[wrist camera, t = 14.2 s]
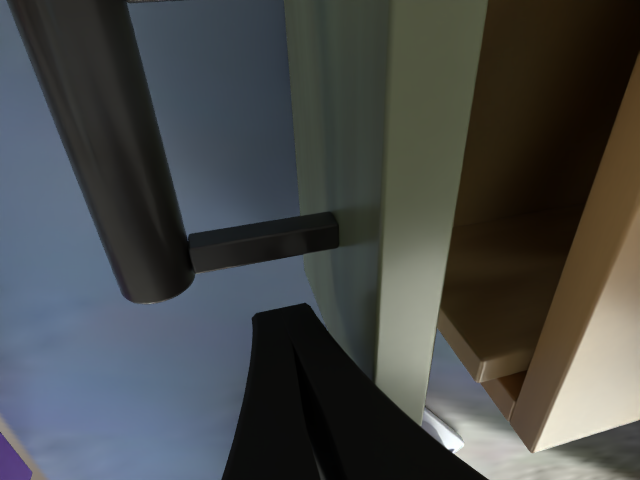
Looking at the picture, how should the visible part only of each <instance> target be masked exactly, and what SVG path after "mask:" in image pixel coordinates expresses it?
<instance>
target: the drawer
mask: <svg viewBox="0 0 640 480" xmlns="http://www.w3.org/2000/svg"><path fill="white" fill-rule="evenodd" d="M6 1H7V3H8V6H9V8H10V11H11V13H12V16H13V18H14V21H15V24H16V26H17V29H18V31H19V34H20V36H21V39H22V41H23V44H24V46H25V49H26V52H27V54H28V57H29V59H30V62H31V64H32V67H33V69H34V72H35V74H36V77H37V80H38V82H39V85H40V87H41V90H42V92H43V95H44V97H45V100H46V102H47V105H48V108H49V110H50V113H51V115H52V118H53V120H54V123H55V125H56V128H57V130H58V133H59V135H60V138H61V141H62V143H63V146H64V148H65V151H66V153H67V156H68V158H69V161H70V163H71V166H72V169H73V171H74V174H75V176H76V179H77V181H78V184H79V186H80V189H81V191H82V194H83V197H84V199H85V202H86V204H87V207H88V209H89V212H90V214H91V217H92V219H93V222H94V225H95V227H96V230H97V232H98V235H99V237H100V240H101V242H102V245H103V247H104V250H105V253H106V255H107V258H108V260H109V263H110V265H111V268H112V270H113V273H114V275H115V278H116V280H117V283H118V286H119V288H120V291H121V293H122V295H123V296H124V297H125V298H126V299H127V300H129V301H131V302H133V303H137V304H154V303H160V302H163V301H167V300H169V299H172V298H174V297H176V296H178V295H179V294H181V293H182V292H184V291H185V290H186V289H187V288H188V287H189V286H190V285H191V284H192V283H193V281H194V278H195V274H199V273H205V272H210V271H216V270H221V269H227V268H232V267H238V266H243V265H248V264H254V263H259V262H265V261H270V260H276V259H281V258H287V257H292V256H298V255H303V258H304V271H305V273H306V276H307V278H308V281H309V284H310V286H311V289H312V291H313V294H314V296H315V299H316V302H317V304H318V307H319V309H320V312H321V314H322V317H323V320H324V322H325V325H326V327H327V330H328V332H329V333H330V334H331V336H332V337H333V338H334V339H335V340H336V342H337V343H338V344H339V345H340V347H341V348H342V349H343V350H344V351H345V352H346V353H347V355H348V356H349V357H350V358H351V359H352V360H353V361H354V362H355V363H356V365H357V366H358V367H359V368H360V369H361V370H362V371H363V372H364V373H365V374H366V375H367V376H368V377H369V378H370V380H371V381H372V382H373V383H374V384H375V385H376V386H377V387H378V388H379V389H380V390H381V391H382V392H383V393H385V394H386V395H387V396H388V397H389V398H390V399H391V400H392V401H393V402H394V403H395V404H396V405H397V406H398V407H399V408H400V409H401V410H402V411H403V412H405V413H406V414H407V415H408V416H409V417H410V418H411V419H412V420H414V421H415V422H416V423H417V424H418V425H419V426H422V420H423V413H424V407H425V401H426V394H427V388H428V382H429V375H430V369H431V362H432V356H433V350H434V343H435V337H436V331H437V328H438V330H439V331H440V332H441V334H442V335H443V337H444V338H445V340H446V341H447V342H448V344H449V345H450V347H451V348H452V349H453V351H454V352H455V354H456V355H457V356H458V358H459V359H460V361H461V362H462V364H463V365H464V366H465V368H466V369H467V371H468V372H469V373H470V375H471V376H472V378H473V379H474V381H475V382H477V383H481V382H484V381H488V380H492V379H496V378H499V377H503V376H507V375H510V374H514V373H518V372H522V371H525V370H528V368H529V365H530V362H531V359H532V356H533V354H534V351H535V348H536V345H537V342H538V339H539V336H540V334H541V331H542V328H543V325H544V322H545V319H546V316H547V314H548V311H549V308H550V305H551V302H552V299H553V296H554V294H555V291H556V288H557V285H558V282H559V279H560V276H561V274H562V271H563V268H564V265H565V262H566V259H567V256H568V254H569V251H570V248H571V245H572V242H573V239H574V236H575V233H576V231H577V228H578V225H579V222H580V219H581V216H582V213H583V211H584V208H585V205H586V202H587V199H588V196H589V193H590V191H591V188H592V185H593V182H594V179H595V176H596V173H597V171H598V168H599V165H600V162H601V159H602V156H603V153H604V151H605V148H606V145H607V142H608V139H609V136H610V133H611V131H612V128H613V125H614V122H615V119H616V116H617V113H618V110H619V108H620V105H621V102H622V99H623V96H624V93H625V90H626V88H627V85H628V82H629V79H630V76H631V73H632V70H633V68H634V65H635V62H636V59H637V56H638V53H639V50H640V0H284V9H285V22H286V35H287V48H288V61H289V74H290V87H291V101H292V114H293V127H294V140H295V153H296V166H297V179H298V192H299V205H300V216H297V217H290V218H284V219H278V220H272V221H266V222H260V223H254V224H248V225H242V226H236V227H229V228H223V229H217V230H211V231H205V232H199V233H193V234H189V236H188V239H187V236H186V232H185V228H184V224H183V220H182V216H181V212H180V208H179V204H178V200H177V196H176V193H175V189H174V185H173V181H172V177H171V173H170V169H169V165H168V161H167V157H166V154H165V150H164V146H163V142H162V138H161V134H160V130H159V126H158V122H157V118H156V115H155V111H154V107H153V103H152V99H151V95H150V91H149V87H148V83H147V79H146V76H145V72H144V68H143V64H142V60H141V56H140V52H139V48H138V44H137V40H136V37H135V33H134V29H133V25H132V21H131V17H130V13H129V9H128V5H127V2H128V3H146V2H164V1H182V0H6Z"/></svg>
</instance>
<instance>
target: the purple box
mask: <svg viewBox="0 0 640 480" xmlns="http://www.w3.org/2000/svg"><path fill="white" fill-rule="evenodd" d="M31 476H32V471H31V470H30V469H29V468H28V466H27V465H26V464H25V463H24V461H23V460H22V459H21V458H20V456H19V455H18V454H17V453H16V451H15V450H14V449H13V448H12V446H11V445H10V444H9V442H8V441H7V440H6V439H5V437H4V436H3V435H2V433H1V432H0V480H30V479H31Z"/></svg>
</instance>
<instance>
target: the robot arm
mask: <svg viewBox="0 0 640 480" xmlns="http://www.w3.org/2000/svg"><path fill="white" fill-rule="evenodd" d="M252 325H253V336H252V350H251V358H250V366H249V371H248V377H247V383H246V388H245V394H244V398H243V403H242V407H241V411H240V415H239V419H238V423H237V427H236V431H235V435H234V439H233V443H232V446H231V450H230V453H229V457H228V460H227V463H226V467H225V470H224V473H223V476H222V479H221V480H488V479H487V478H486V477H484V476H483V475H482V474H480V473H479V472H477V471H476V470H475V469H473V468H472V467H471V466H469V465H468V464H467V463H465V462H464V461H462V460H461V459H460V458H458V457H457V456H456V455H455V454H453V453H455V452H456V451H458V450H459V449H461V448H462V447H463V446H464V441H463V439H462V438H461V436H460V435H458V434H457V433H456V432H455V431H454V430H452V429H451V428H450V427H449V426H447V425H446V424H445V423H444V422H443V421H441V420H440V419H439V418H438V417H436V416H435V415H434V414H433V413H431V412H430V411H429V410H428V409H427V408H425V407H424V413H423V420H422V426H419V425H418V424H417V423H416V422H415V421H414V420H412V419H411V418H410V417H409V416H408V415H407V414H406V413H405V412H403V411H402V410H401V409H400V408H399V407H398V406H397V405H396V404H395V403H394V402H393V401H392V400H391V399H390V398H389V397H388V396H387V395H386V394H385V393H383V392H382V391H381V390H380V389H379V388H378V387H377V386H376V385H375V384H374V383H373V382H372V381H371V380H370V378H369V377H368V376H367V375H366V374H365V373H364V372H363V371H362V370H361V369H360V368H359V367H358V366H357V365H356V363H355V362H354V361H353V360H352V359H351V358H350V357H349V356H348V355H347V353H346V352H345V351H344V350H343V349H342V348H341V347H340V345H339V344H338V343H337V342H336V340H335V339H334V338H333V337H332V336H331V334H330V333H329V332H328V331H327V329H326V328H325V327H324V325H323V324H322V323H321V321H320V320H319V318H318V317H317V316H316V314H315V313H314V311H313V310H312V308H311V306H310V305H308V304H306V303H302V304H298V305H293V306H288V307H283V308H279V309H274V310H269V311H264V312H260V313H256V314H255V315H254V316H253V317H252Z"/></svg>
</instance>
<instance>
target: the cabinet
mask: <svg viewBox="0 0 640 480" xmlns="http://www.w3.org/2000/svg"><path fill="white" fill-rule="evenodd" d="M481 385H482V386H483V388H484V389H485V390H486V392H487V393H488V395H489V396H490V397H491V399H492V400H493V402H494V403H495V404H496V406H497V407H498V408H499V410H500V411H501V413H502V414H503V415H504V417H505V418H506V420H507V421H510V425H511V426H512V428H513V429H514V430H515V432H516V433H517V434H518V436H519V437H520V439H521V440H522V441H523V443H524V444H525V446H526V447H527V448H528V450H529V451H530V452H531V453H535V452H538V451H541V450H545V449H548V448H551V447H554V446H557V445H561V444H564V443H567V442H570V441H573V440H576V439H580V438H583V437H586V436H589V435H592V434H596V433H599V432H602V431H605V430H608V429H612V428H615V427H618V426H621V425H624V424H627V423H631V422H634V421H637V420H640V50H639V53H638V56H637V59H636V62H635V65H634V68H633V70H632V73H631V76H630V79H629V82H628V85H627V88H626V90H625V93H624V96H623V99H622V102H621V105H620V108H619V110H618V113H617V116H616V119H615V122H614V125H613V128H612V131H611V133H610V136H609V139H608V142H607V145H606V148H605V151H604V153H603V156H602V159H601V162H600V165H599V168H598V171H597V173H596V176H595V179H594V182H593V185H592V188H591V191H590V193H589V196H588V199H587V202H586V205H585V208H584V211H583V213H582V216H581V219H580V222H579V225H578V228H577V231H576V233H575V236H574V239H573V242H572V245H571V248H570V251H569V254H568V256H567V259H566V262H565V265H564V268H563V271H562V274H561V276H560V279H559V282H558V285H557V288H556V291H555V294H554V296H553V299H552V302H551V305H550V308H549V311H548V314H547V316H546V319H545V322H544V325H543V328H542V331H541V334H540V336H539V339H538V342H537V345H536V348H535V351H534V354H533V356H532V359H531V362H530V365H529V368H528V370H525V371H522V372H518V373H514V374H510V375H507V376H503V377H499V378H496V379H492V380H488V381H484V382H481Z"/></svg>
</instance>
